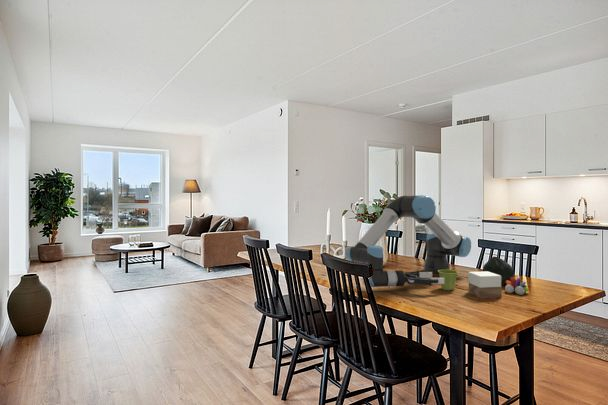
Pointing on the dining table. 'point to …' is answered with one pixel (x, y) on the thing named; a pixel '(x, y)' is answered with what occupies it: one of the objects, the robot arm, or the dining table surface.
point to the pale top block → (484, 279)
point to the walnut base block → (485, 291)
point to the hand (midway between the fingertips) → (437, 277)
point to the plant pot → (448, 279)
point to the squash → (499, 269)
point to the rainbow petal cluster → (516, 286)
